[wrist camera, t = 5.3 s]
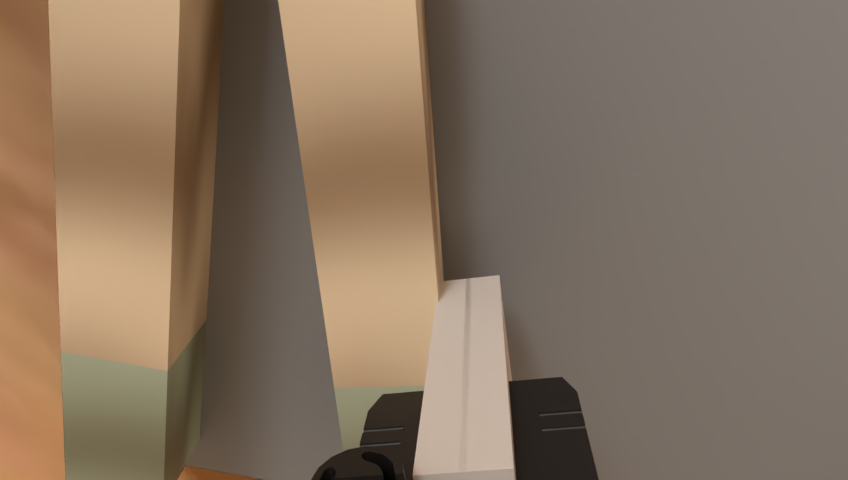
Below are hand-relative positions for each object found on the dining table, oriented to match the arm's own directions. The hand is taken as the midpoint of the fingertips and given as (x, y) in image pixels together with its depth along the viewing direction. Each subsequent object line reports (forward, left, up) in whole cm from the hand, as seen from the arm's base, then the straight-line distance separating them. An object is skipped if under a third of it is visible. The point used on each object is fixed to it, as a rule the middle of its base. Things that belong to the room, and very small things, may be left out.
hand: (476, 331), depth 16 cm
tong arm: (-2, -3, -2) cm, 4 cm away
